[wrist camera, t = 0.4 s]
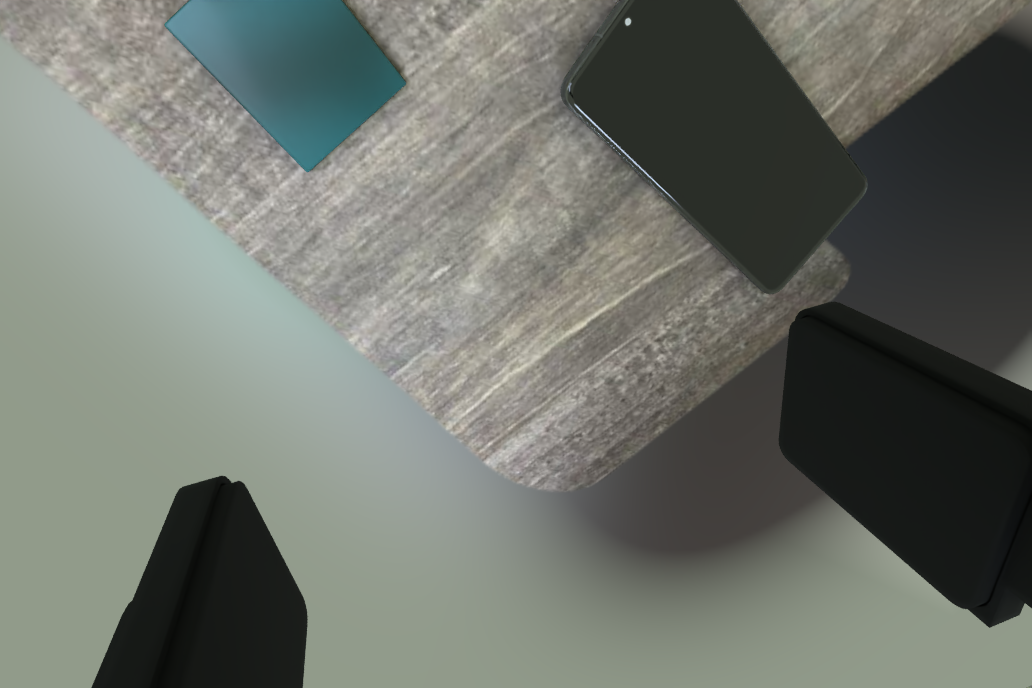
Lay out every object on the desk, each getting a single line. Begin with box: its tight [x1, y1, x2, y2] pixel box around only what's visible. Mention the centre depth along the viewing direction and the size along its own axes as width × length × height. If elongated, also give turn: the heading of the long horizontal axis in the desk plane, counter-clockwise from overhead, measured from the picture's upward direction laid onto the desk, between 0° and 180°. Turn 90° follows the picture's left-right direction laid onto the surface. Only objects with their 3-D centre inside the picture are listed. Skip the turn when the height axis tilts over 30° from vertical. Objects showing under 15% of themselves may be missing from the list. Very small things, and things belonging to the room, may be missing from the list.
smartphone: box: [561, 0, 867, 294], centre depth 24 cm, size 7×1×16 cm
